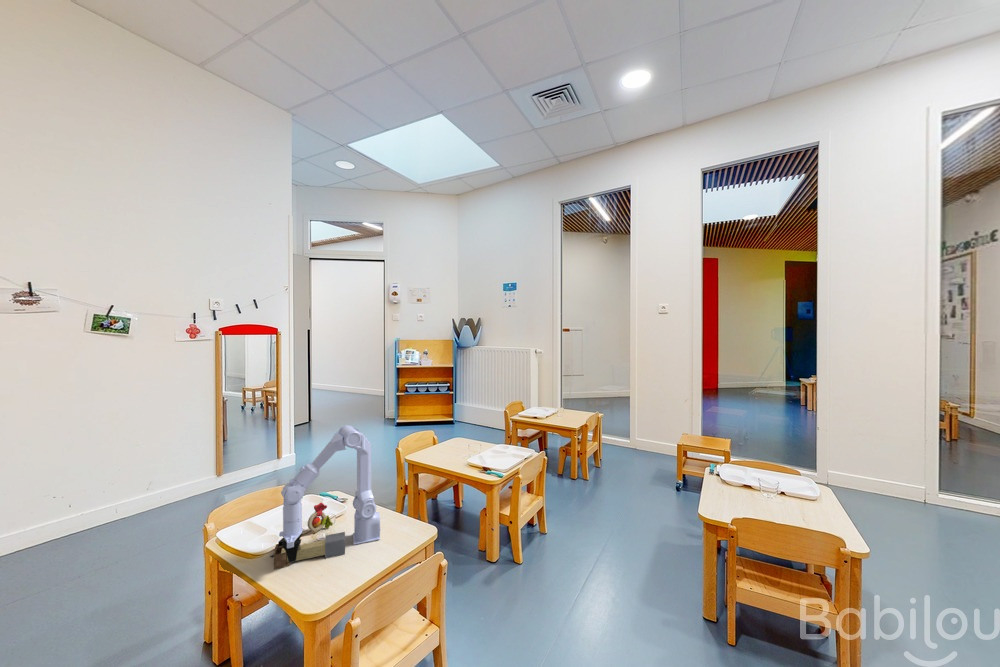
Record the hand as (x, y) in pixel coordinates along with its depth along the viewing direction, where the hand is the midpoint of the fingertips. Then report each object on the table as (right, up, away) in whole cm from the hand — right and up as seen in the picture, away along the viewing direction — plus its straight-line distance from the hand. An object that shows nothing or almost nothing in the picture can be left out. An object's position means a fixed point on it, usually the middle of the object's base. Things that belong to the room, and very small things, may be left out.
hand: (293, 556), depth 132 cm
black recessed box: (-6, -2, +6) cm, 9 cm away
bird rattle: (0, -1, +20) cm, 20 cm away
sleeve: (+12, -1, +5) cm, 14 cm away
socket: (-3, -1, -1) cm, 3 cm away
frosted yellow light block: (+3, -1, +1) cm, 4 cm away
